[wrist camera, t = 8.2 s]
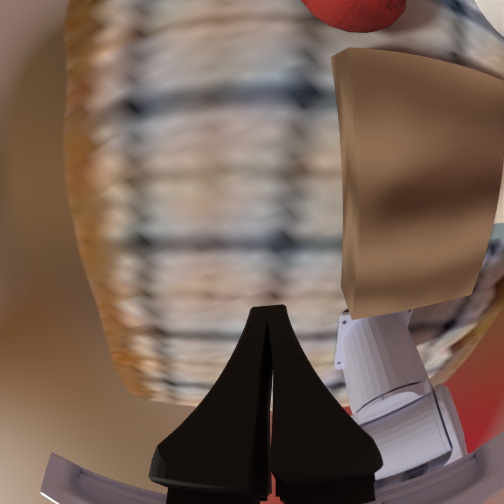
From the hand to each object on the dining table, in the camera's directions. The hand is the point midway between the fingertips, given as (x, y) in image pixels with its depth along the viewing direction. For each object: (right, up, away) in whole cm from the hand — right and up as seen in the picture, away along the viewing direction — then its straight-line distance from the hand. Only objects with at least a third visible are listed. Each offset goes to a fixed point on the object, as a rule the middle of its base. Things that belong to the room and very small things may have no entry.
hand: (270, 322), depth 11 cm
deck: (+11, +8, +6) cm, 15 cm away
